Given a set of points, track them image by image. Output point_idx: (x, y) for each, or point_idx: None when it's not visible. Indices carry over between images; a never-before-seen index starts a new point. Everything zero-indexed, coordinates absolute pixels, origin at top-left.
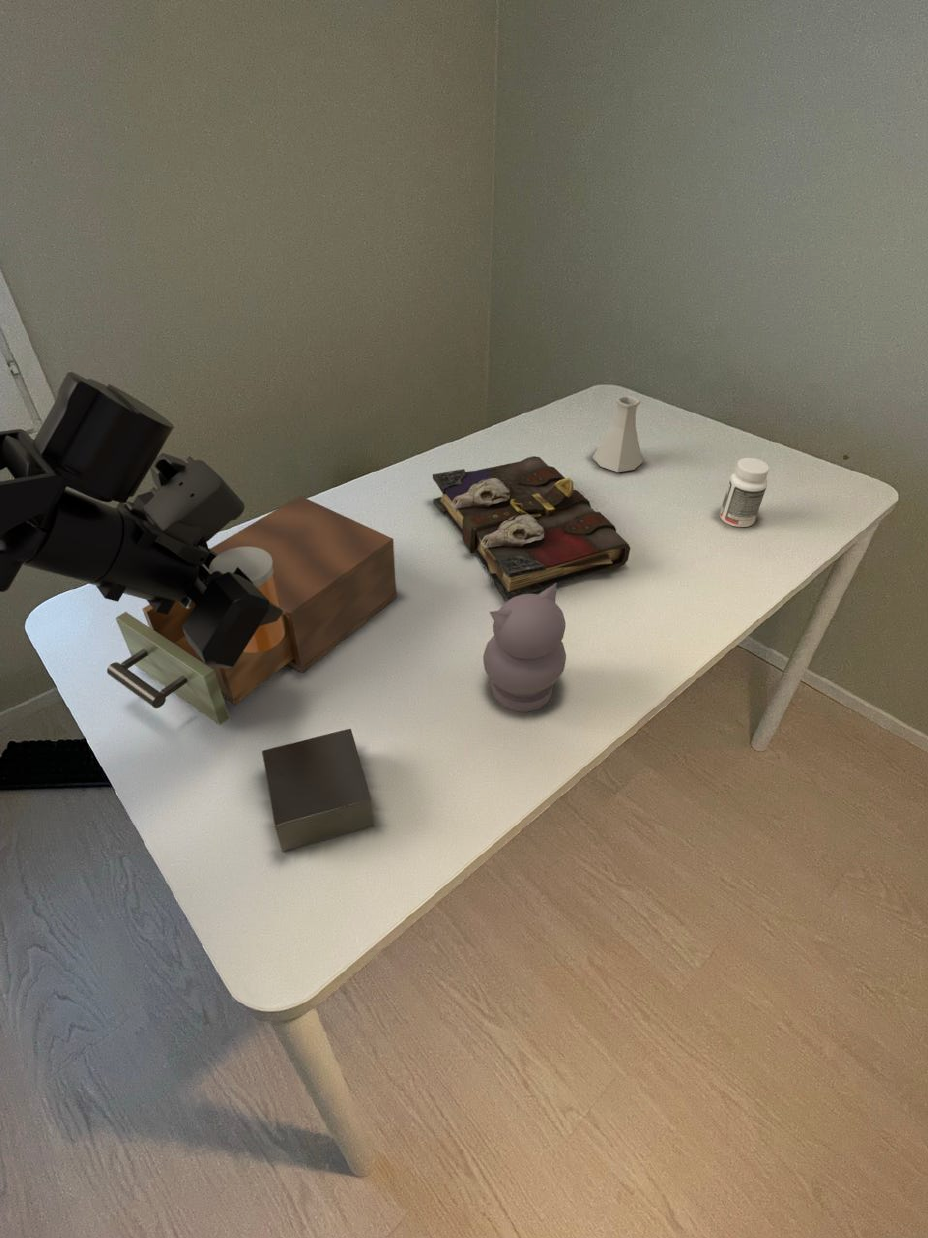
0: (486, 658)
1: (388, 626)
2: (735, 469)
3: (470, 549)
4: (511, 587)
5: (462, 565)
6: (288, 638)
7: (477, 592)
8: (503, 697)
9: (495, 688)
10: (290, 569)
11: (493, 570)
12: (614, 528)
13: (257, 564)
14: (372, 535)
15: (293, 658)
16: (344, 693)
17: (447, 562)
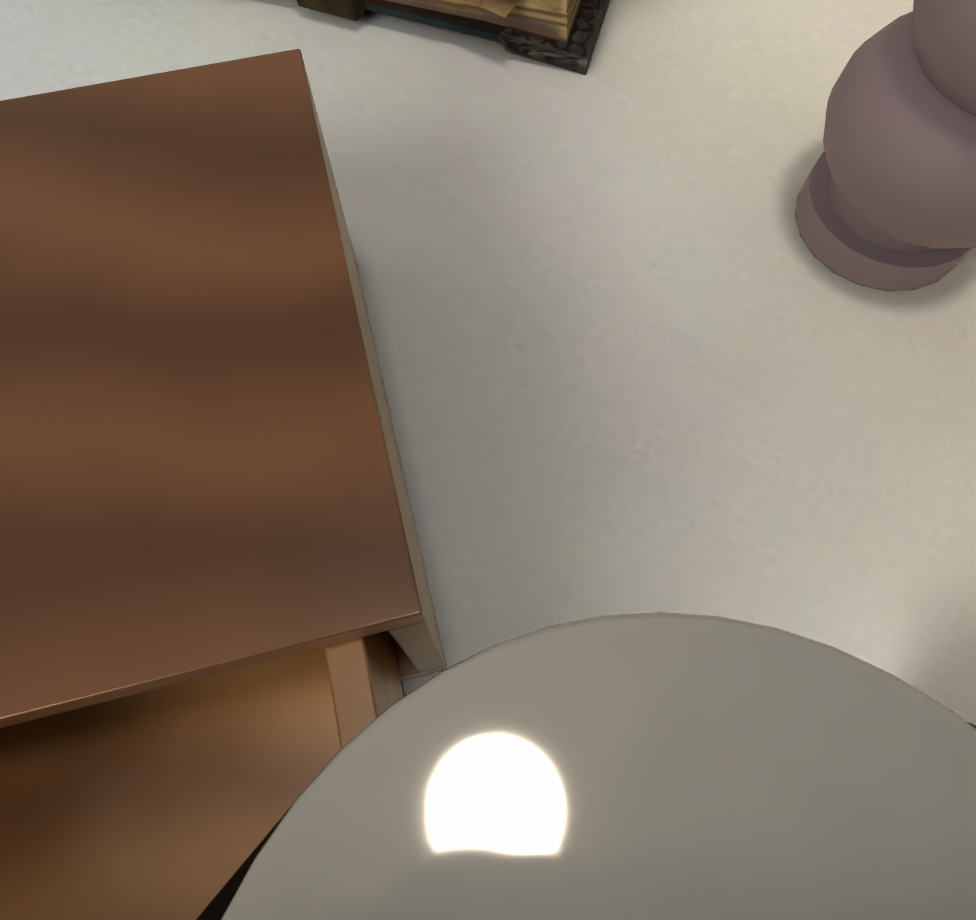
0: (943, 193)
1: (445, 340)
2: None
3: (354, 8)
4: (568, 23)
5: (373, 64)
6: (384, 655)
7: (494, 97)
8: (929, 268)
9: (890, 263)
10: (135, 445)
11: (500, 6)
12: None
13: (857, 910)
14: (221, 87)
15: (397, 666)
16: (616, 604)
17: (333, 82)
